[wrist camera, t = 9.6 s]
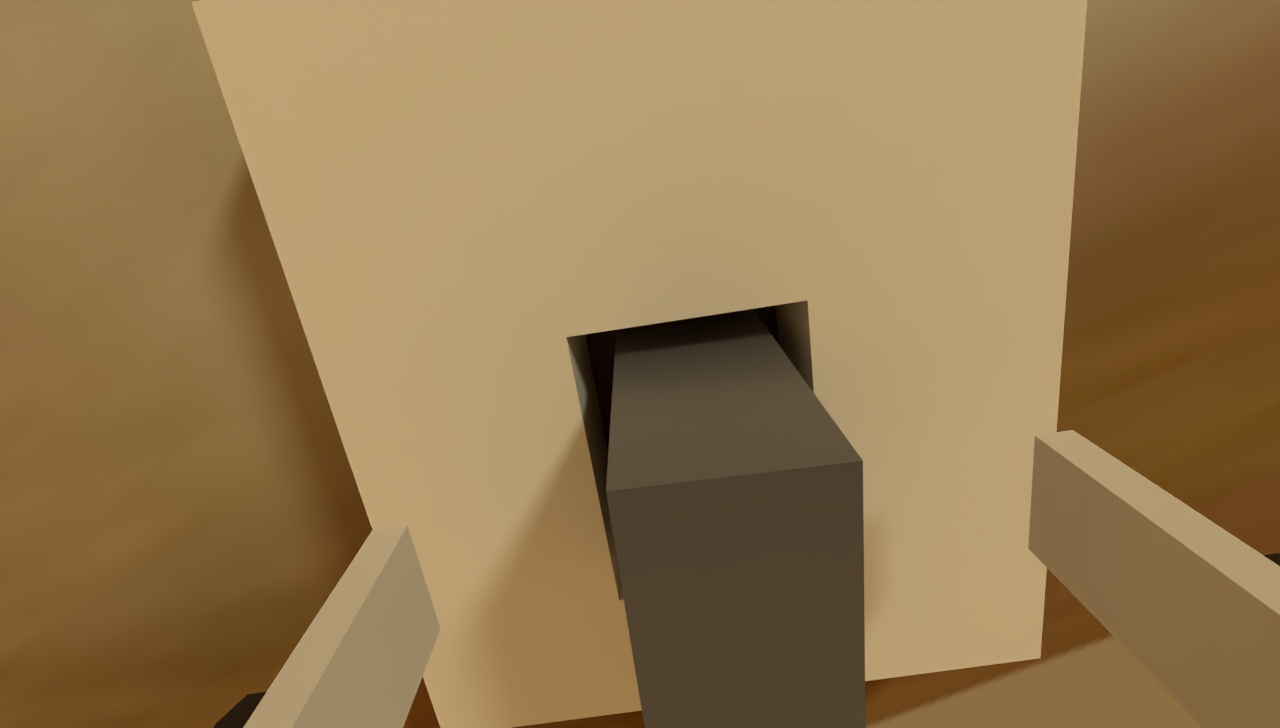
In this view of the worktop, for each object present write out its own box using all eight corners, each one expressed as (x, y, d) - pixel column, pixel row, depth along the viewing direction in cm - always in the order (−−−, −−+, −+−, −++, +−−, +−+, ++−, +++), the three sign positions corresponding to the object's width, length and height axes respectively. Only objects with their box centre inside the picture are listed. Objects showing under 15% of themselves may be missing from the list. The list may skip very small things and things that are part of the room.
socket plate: (987, -87, 16) (1097, -157, 12) (971, 571, 23) (1040, 658, 19) (289, 33, 17) (190, 1, 13) (473, 639, 23) (443, 736, 20)
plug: (748, 302, 19) (863, 460, 10) (760, 477, 21) (865, 746, 12) (616, 319, 19) (605, 491, 10) (641, 491, 21) (651, 769, 12)
